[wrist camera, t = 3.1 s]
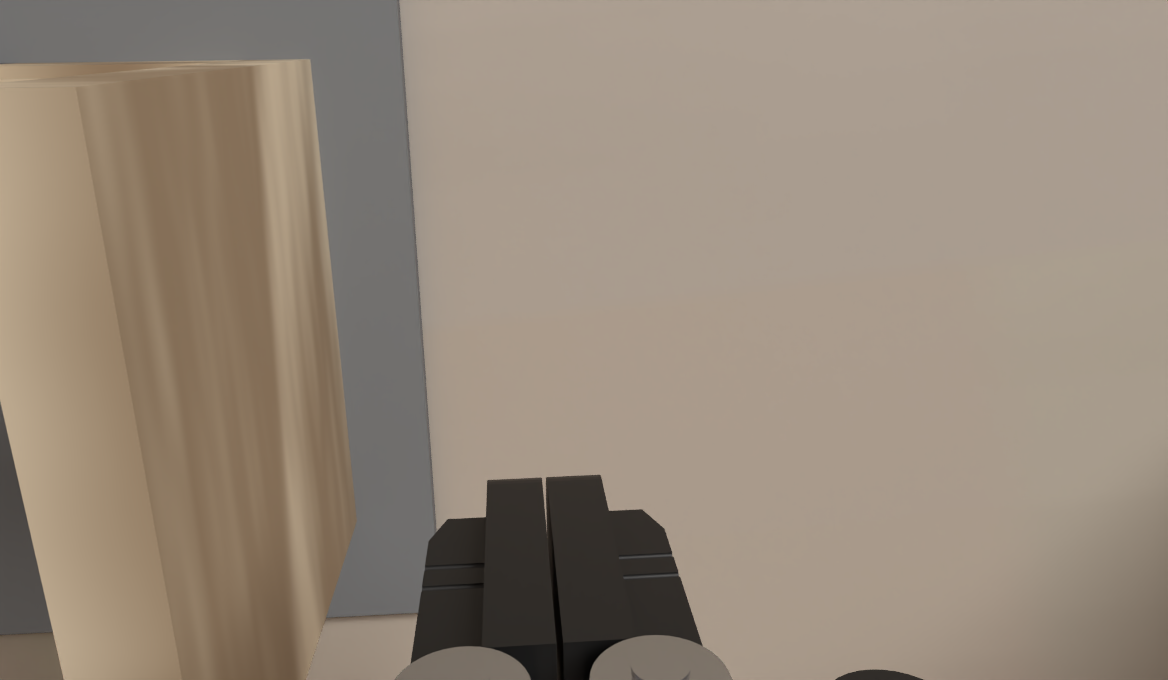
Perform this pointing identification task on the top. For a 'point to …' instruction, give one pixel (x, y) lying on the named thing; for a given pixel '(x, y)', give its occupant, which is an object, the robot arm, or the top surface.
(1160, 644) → the top surface
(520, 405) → the top surface
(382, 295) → the mat
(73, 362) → the stool
